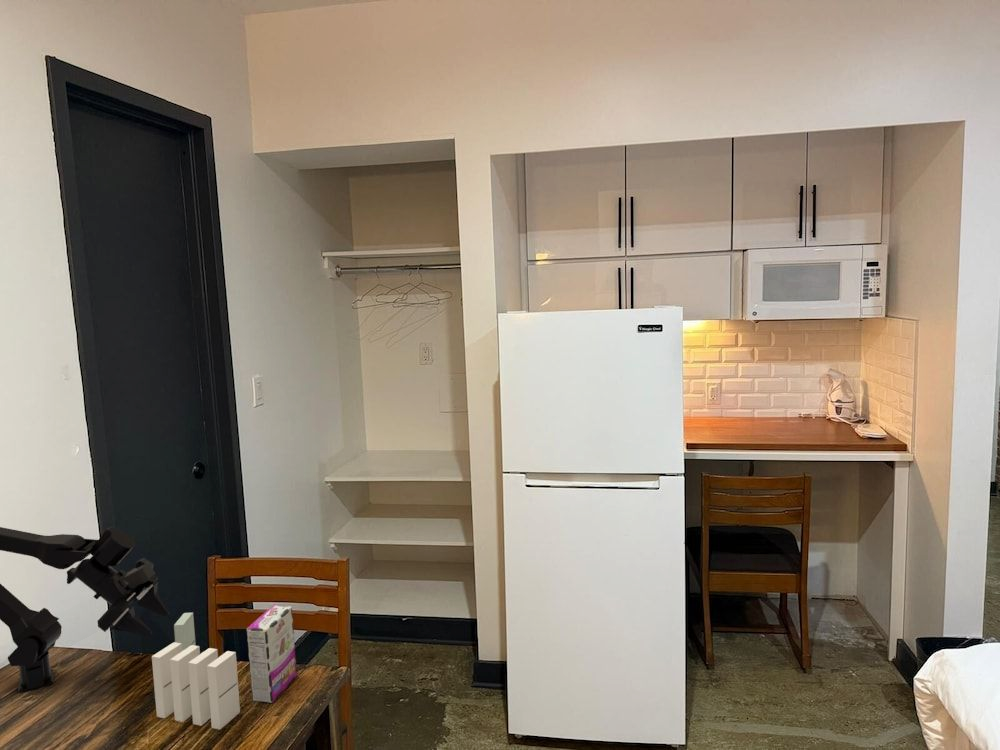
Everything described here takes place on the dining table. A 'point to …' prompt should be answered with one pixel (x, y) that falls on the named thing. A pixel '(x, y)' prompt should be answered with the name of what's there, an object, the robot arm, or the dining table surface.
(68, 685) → the dining table surface
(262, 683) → the candy bar box
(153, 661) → the ivory domino
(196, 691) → the ivory domino
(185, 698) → the ivory domino
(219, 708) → the ivory domino
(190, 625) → the sage domino
